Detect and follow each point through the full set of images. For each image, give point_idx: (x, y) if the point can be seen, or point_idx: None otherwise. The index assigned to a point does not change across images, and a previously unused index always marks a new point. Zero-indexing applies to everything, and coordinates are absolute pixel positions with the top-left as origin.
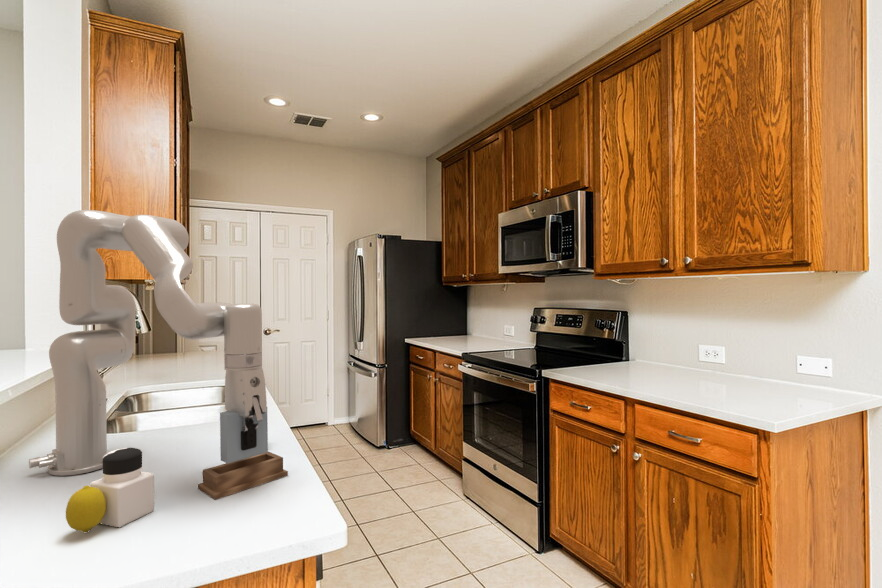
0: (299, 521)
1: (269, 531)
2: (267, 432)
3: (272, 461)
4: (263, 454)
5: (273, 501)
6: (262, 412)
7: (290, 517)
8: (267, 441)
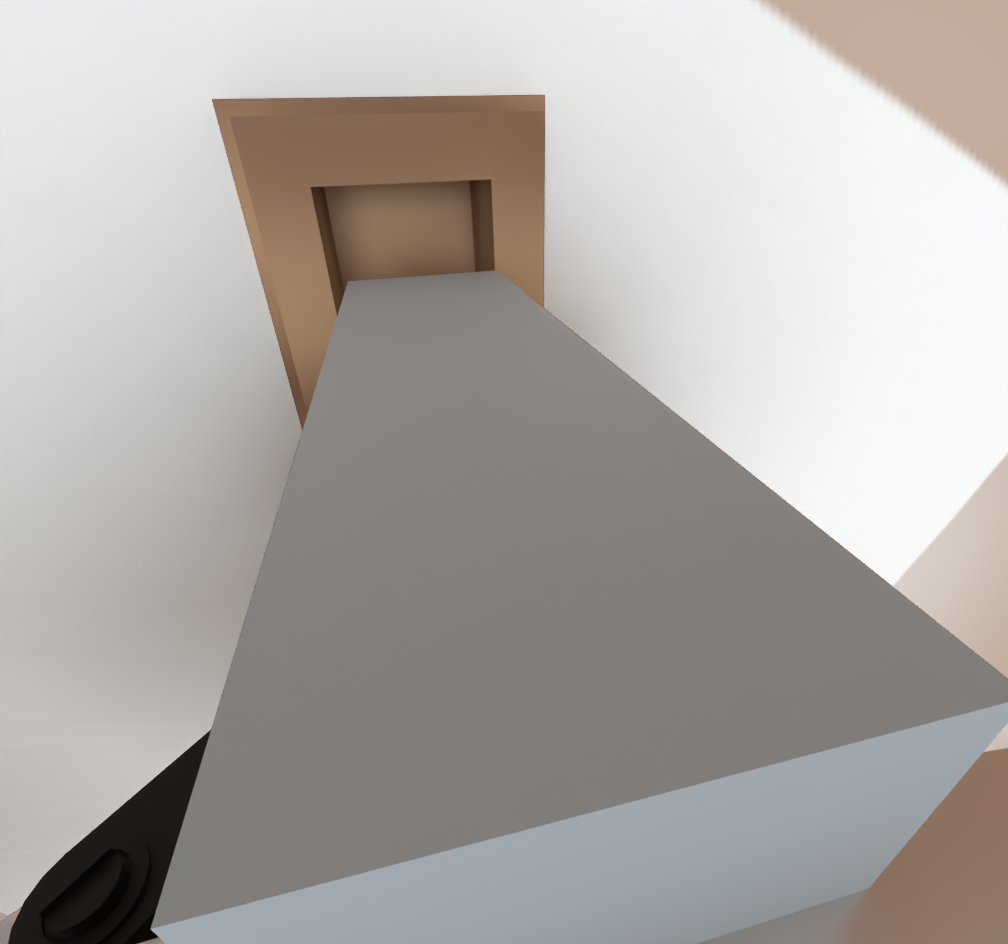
0: (968, 376)
1: (906, 478)
2: (563, 325)
3: (543, 244)
4: (307, 218)
5: (759, 374)
6: (993, 757)
7: (918, 386)
8: (526, 296)
